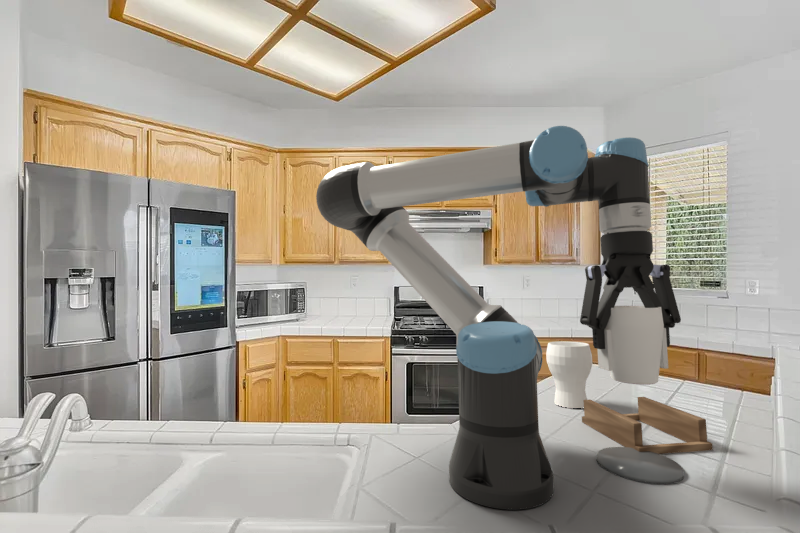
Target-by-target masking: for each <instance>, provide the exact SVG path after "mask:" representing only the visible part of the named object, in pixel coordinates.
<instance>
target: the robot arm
mask: <svg viewBox="0 0 800 533" xmlns="http://www.w3.org/2000/svg"><path fill="white" fill-rule="evenodd" d="M649 165H650V164H649V163H648V157H647V149H646V143H645V142H644V141H643V140H641V139H640V138H636V137H619V138H615V139H613V140H607V141H605V142H603V143H601V144H600V145H598V146H597V148H596V150H595V154H594V156H591V157H589V154H588V146H587V142H586V139H585V138H584V136H583V135H582V133H581V132H580V131H578V130H577V129H575V128H573V127H571V126H567V125H555V126H551V127H548V128H547V129H544V130H543V131H542V132H541V133H539V134H538V135H537V136H536V137H535V139H532V140H526V141H520V142H515V143H510V144H504V145H500V146H498V145H497V146H492V147H485V148H478V149H475V150H474V149H473V150H466V151H462V152H461V151H460V152H455V153H448V154H444V155H438V156H437V155H436V156H432V157H425V158H424V157H423V158H418V159H412V160H407V161H401V162H395V163H389V164H388V163H387V164H383V165H382V164H381V165H377V166H376V165H374V164H373V163H372V162H370V161H365V162H364V161H363V162H359V163H358V162H357V163H352V164H347V165H343V166H340V167H337V168H335V169H333V170H331V171H329V172H328V173H327V174H326V175H325V176H323V178H322V179H321V180H320V183H319V184H318V187H317V189H316V196H315V197H316V205H317V208H318V211H319V213H320V215H321V216H322V217H323V219H324V220H325V221H326V222H327V223H329V224H330V225H332V226H334V227H336V228H338V229H339V228H340V229H343V230H346V231H349V232H352V233H353V234H354V235H355V236H356V238H358V239H359V241H361V243H362V244H363V245H364V246H365V247H366V248H367V249H368V250H369V251H371V252H376V251H377V252H380V253H381V254H382V255H383V257H384V258H386V259H387V261H388V262H390V264H391V265H392V266H393V267H394V268H395V269H396V271H397V272H398V273H399V274H400V275H401V276H402V277H403V278H404V279H405V280H406V281H407V282H408V284H409V285H410V286H411V287H412V288H413V289H414V290H415V291H416V292H417V294H419V296H420V297H421V298H422V299H423V300H424V301H425V302H426V303H427V304H428V306H429V307H431V309H432V310H433V311H434V312H435V313H436V314H437V316H439V317H440V318H441V320H442V321H443V322H444V323H445V324H446V325H447V326H448V327H449V328H450V329H451V331H453V333H454V334H455V335H456V347H455V351H456V354H455V355H456V357H457V381H458V382H457V383H458V384H457V385H458V387H457V388H458V413H459V414H458V416H459V420H458V421H459V424H458V425H459V427H458V431H457V435H456V438H455V441H454V446H453V449H452V452H451V455H450V459H449V464H448V474H449V475H448V476H449V477H448V480H449V481H448V482H449V483H450V486H451V487H452V489H453V491H455V492H456V493H457V494H458V495H459V496H461V497H462V498H464V499H466V500H469V501H470V502H472V503H475V504H477V505H480V506H484V507H489V508H492V509H493V508H494V509H500V510H510V511H511V510H512V511H513V510H516V511H517V510H526V509H531V508H536V507H539V506H541V505H544V504H546V503H548V502H549V501H550V500H551V498H553V495H554V492H555V484H554V483H555V478H554V472H553V469H552V466H551V463H550V460H549V458H548V454H547V451H546V449H545V446H544V443H543V441H542V438H541V435H540V429H539V428H540V427H539V405H538V404H539V401H538V376H539V373H540V371H541V368H542V365H543V349H542V346H541V343H540V342H539V339H538V337H537V336H536V334H535V333H534V331H533V330H532V329H531V327H530V326H528V325H525V324H522V323H519V322H518V321H517V320H516V319H515V318H514V317H513V316H512V315H511V314H510V313H509V312H508V311H507V310H506V309H505V308H504V307H503V306H502V305H499V304H489V303H488V302H487V301H486V300H485V299H484V298H483V297H482V296H481V295H480V294H479V293H478V292H477V291H476V290H475V288H473V287H472V286H471V285H470V284H469V282H467V280H465V279H464V278H463V277H462V276H461V275H460V273H458V271H456V270H455V269H454V267H452V265H451V264H450V263H449V262H448V261H447V260H446V259H444V257H442V255H441V254H440V253H439V252H438V251H437V250H436V249H435V248H434V247H433V246H432V245H431V244H430V243H429V242H428V241H427V240H426V239H425V238H424V237H423V236H422V235H421V234H420V232H418V231H417V230H416V229H415V228H414V227H413V226H412V225H411V224H410V213H409V212H408V210H406V208H405V207H406V206H407V207H408V206H409V207H410V206H415V205H422V204H423V205H425V204H432V203H438V202H439V203H440V202H447V201H456V200H457V201H458V200H464V199H473V198H480V197H481V198H482V197H488V196H489V197H490V196H497V195H505V194H513V193H521V192H524V194H525V200H526V204H527V205H528V206H530V207H546V208H547V207H549V206H556V205H557V206H558V205H566V204H574V203H575V204H576V203H586V202H594V201H597V202H598V219H599V221H598V222H599V232H600V233H602V235H601V236H600V237H599V238H600V241H599V242H600V253H601V256H602V262H601V264H600V265H597V264H595V265H588V266H586V267H585V268H584V271H585V273H584V274H585V278H586V279H585V280H586V283H585V288H584V295H583V300H582V306H581V312H580V314H581V315H580V319H579V323H580V324H581V325H583V326H587V327H588V328H591V330H592V346H593V348H594V349H596V350H597V367H598V369H602V370H605V371H607V372H610V371H613V356H612V337H611V330H609V329H605V328H606V326H607V323H608V321H609V319H610V316H611V308H614V306H616V304H617V302H618V299H619V296H620V294H621V293H622V292H623V291H624V289H625V288H632V290H633V291H634V292H636V293H637V296H638V297H639V299H640V301H641V303H642V306H644V307H645V308H658V307H661V309H662V317H663V323H664V330H663V340H662V349H661V359H660V369H669V358H668V357H669V355H668V354H669V353H668V347H670V345H671V339H670V336H671V335H670V329H671V328H672V329H673V328H674V327H675V326H676V324H680V322H681V321H682V318H681V315H680V310H679V307H678V304H677V300H676V297H675V296H676V295H675V293H674V289H673V287H672V281H671V266H670V265H669V264H654V263H653V261H652V259H651V256H652V253H654V252H653V251H654V245H653V233H652V232H651V231H649V229H650V228H652V216H651V215H652V214H651V203H650V202H651V201H650V185H649V182H650V180H649ZM603 277H606V280H605V283H604V285H603V286H602V284H603ZM650 277H651V278H652V279H651V278H650ZM602 287H603V292H602ZM601 292H602V294H601Z"/></svg>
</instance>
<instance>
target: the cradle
mask: <svg viewBox="0 0 800 533" xmlns="http://www.w3.org/2000/svg"><path fill="white" fill-rule="evenodd" d="M637 410H638V412H635V413H620V412H618V411H617V410H614V409H612V408H610V407H607V406H605V405H604V404H600V403H598V402H596V401H594V400H593V399H587V400H584V408H583V412H584V413H583V414H584V415H583V416H581V422H582V423H583V424H584V425H586V426H588V427H590V428H591V429H593V430H595V431H597V432H599V433H600V434H602V435H603V436H606V438H609V439H611V440H612V441H614V442H616V443H617V444H619V445H621V447H629V448H634V449H635V450H637V451H639V452H643V451H651V452H654V453H657V454H660V455H664V454H665V455H666V454H677V453H680V454H681V453H691V452H707V451H714V445H713V442H711V441H708V432H707V429H708V428H707V419H705V418H703V417H701V416H699V415H695V414H693V413H690V412H688V411H684V410H681V409H679V408H676V407H673V406H671V405H669V404H665V403H662V402H659V401H657V400H654V399H651V398H649V397H646V396H638V397H637ZM643 424H646V425H648V426H650V427H653V428H654V429H657V430H658V431H661V432H663V433H665V434H668V435H670V436H673V437H674V438H677V439H679V440H681V441H683V442H674V443H660V444H659V443H657V444H643V442H644V441H643V426H642V425H643Z"/></svg>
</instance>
